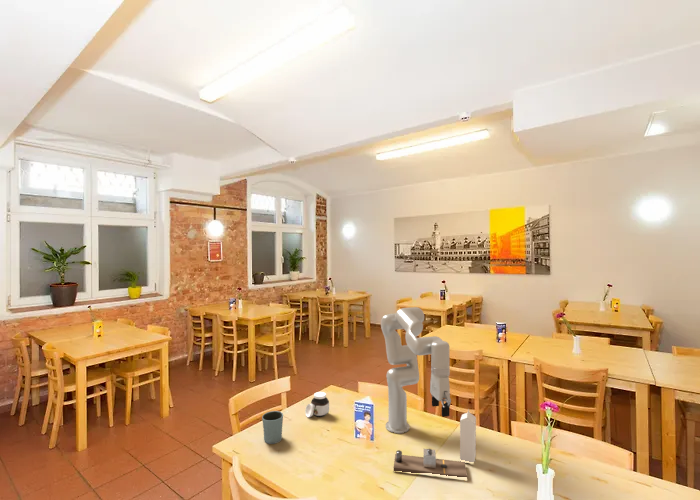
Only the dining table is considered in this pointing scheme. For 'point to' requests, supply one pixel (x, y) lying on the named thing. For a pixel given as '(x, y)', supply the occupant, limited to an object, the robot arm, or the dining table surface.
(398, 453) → the fixed leg
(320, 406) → the spread jar
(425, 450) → the sliding leg
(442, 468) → the board
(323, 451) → the dining table surface
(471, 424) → the milk
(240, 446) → the dining table surface
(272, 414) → the blue-grey cup
